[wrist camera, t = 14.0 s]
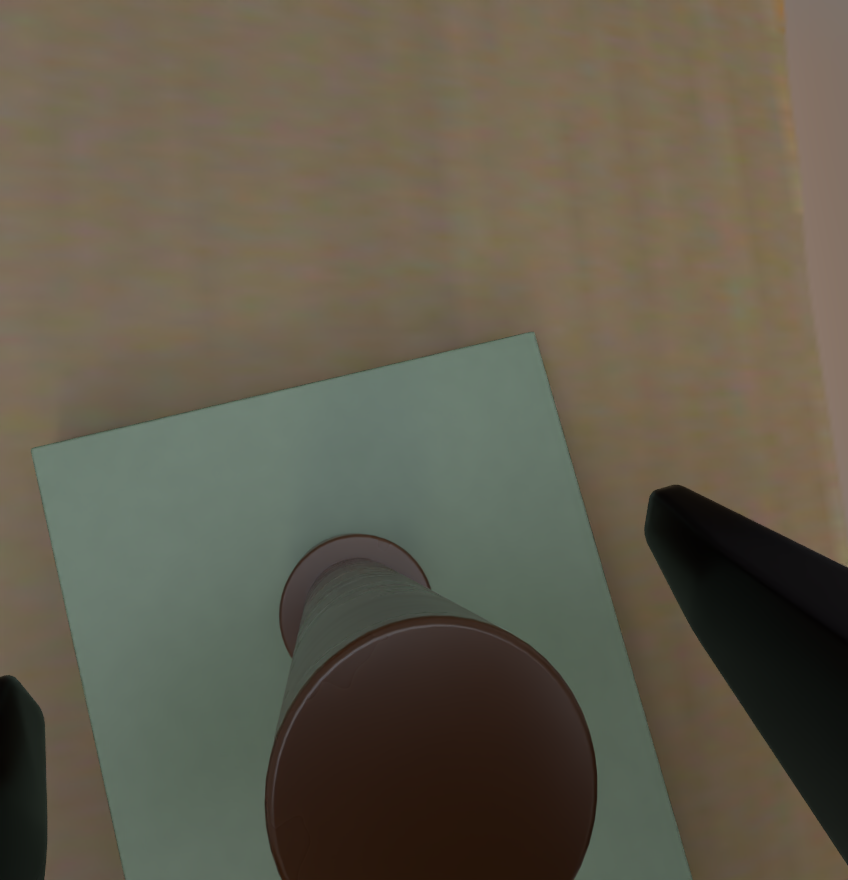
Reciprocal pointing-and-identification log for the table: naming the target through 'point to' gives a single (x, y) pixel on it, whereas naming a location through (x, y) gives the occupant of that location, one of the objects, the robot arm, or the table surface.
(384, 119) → the table surface
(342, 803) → the stirrer
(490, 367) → the board
